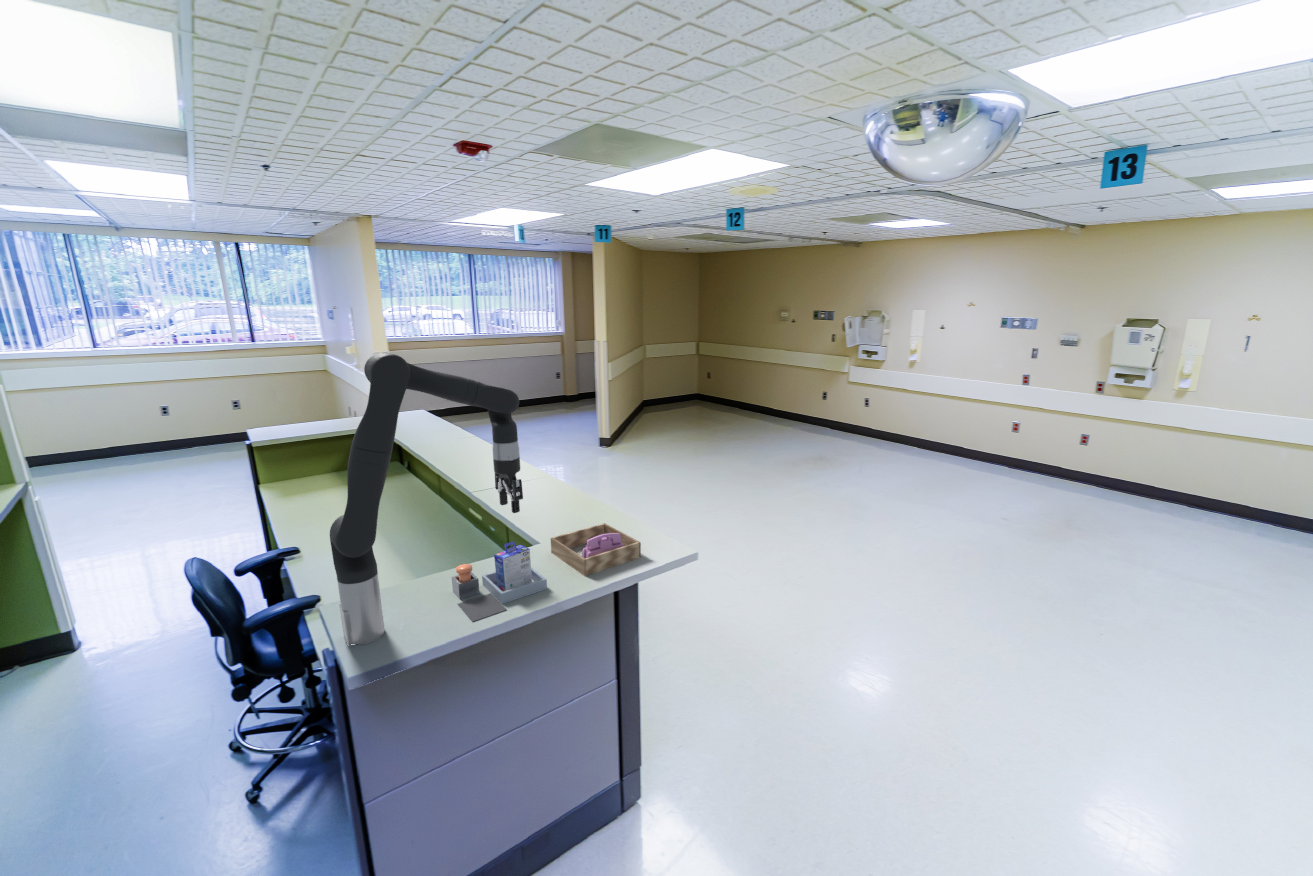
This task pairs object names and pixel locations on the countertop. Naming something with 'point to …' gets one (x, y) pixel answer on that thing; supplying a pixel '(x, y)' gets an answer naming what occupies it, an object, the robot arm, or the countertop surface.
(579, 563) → the phone corral
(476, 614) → the mat
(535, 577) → the collar
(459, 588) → the button housing
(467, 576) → the release button
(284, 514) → the countertop surface
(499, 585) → the ink cartridge box
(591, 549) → the toy telephone
